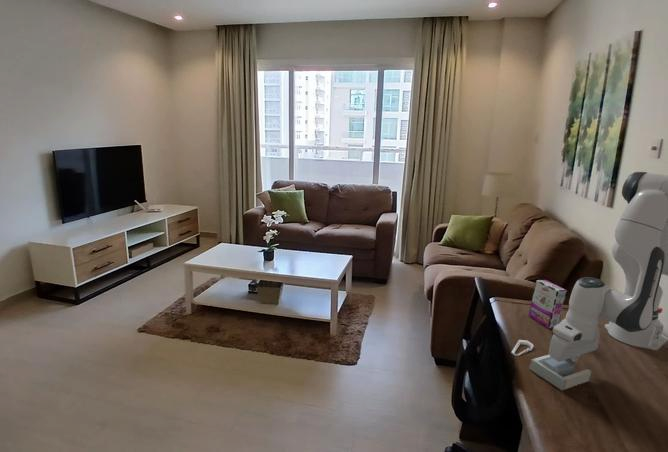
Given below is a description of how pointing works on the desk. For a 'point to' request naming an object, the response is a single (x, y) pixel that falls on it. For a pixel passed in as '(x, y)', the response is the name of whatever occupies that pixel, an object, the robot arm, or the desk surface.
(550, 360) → the grey-blue box
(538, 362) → the bay
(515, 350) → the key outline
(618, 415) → the desk surface
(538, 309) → the candy bar box
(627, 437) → the desk surface
